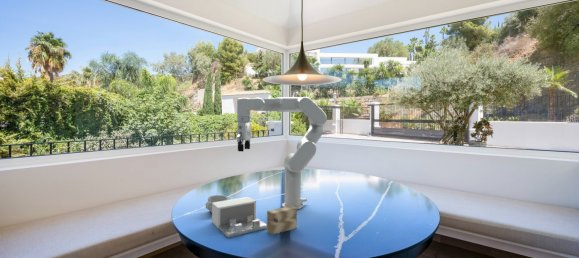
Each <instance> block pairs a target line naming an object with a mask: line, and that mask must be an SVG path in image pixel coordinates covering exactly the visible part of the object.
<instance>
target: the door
mask: <svg viewBox="0 0 579 258" xmlns="http://www.w3.org/2000/svg"><path fill="white" fill-rule="evenodd" d="M297 210H298V209H297V208H296V207H294V206H289V207H284V208H283V207H280V208H274V209H270V210H267V211H266V217H267V218H266V222H267V223H266V225H267V228H266V231H267V233H268V234H269V233H270V234H269V235H271V236H272V235H276V233H277V234H280V232H281V233H284V232H287V231H291V230H295V229H297V221H298V219H297V218H298V217H297V215H298V211H297Z"/></svg>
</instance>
